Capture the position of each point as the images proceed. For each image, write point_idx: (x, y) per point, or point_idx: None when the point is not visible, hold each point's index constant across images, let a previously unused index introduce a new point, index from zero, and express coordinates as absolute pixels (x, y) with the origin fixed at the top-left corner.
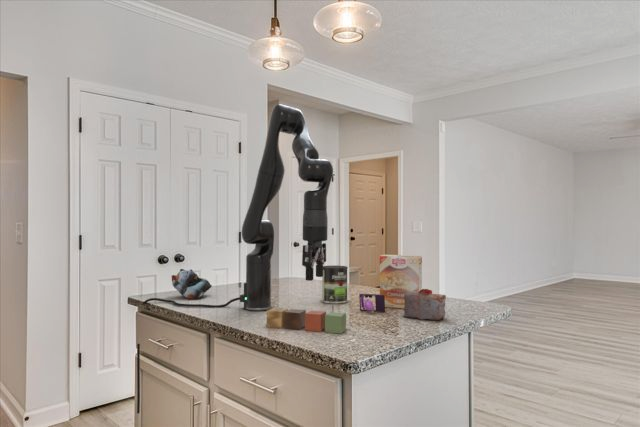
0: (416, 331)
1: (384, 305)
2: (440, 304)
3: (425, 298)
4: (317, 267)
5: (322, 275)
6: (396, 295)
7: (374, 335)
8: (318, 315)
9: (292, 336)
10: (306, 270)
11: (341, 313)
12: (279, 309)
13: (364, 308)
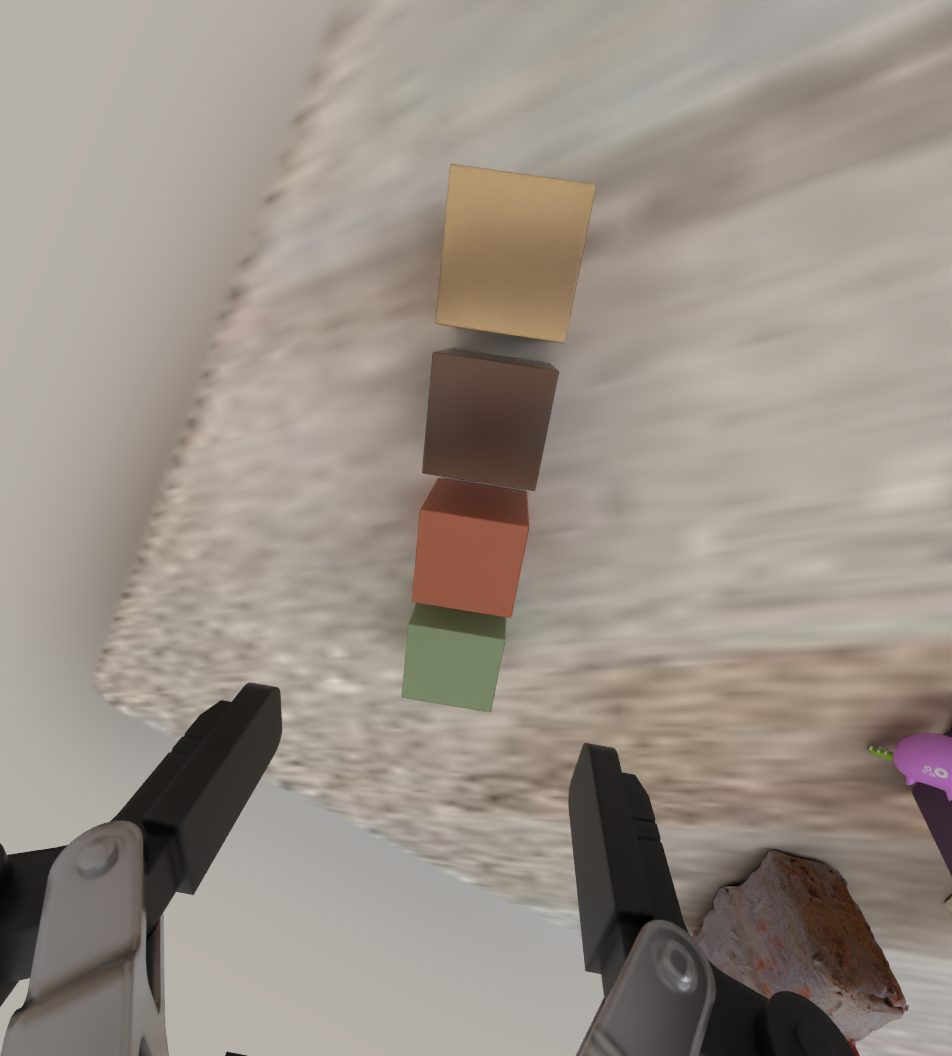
0: (520, 856)
1: (929, 825)
2: None
3: None
4: (598, 876)
5: (571, 811)
6: None
7: (428, 747)
8: (414, 586)
9: (302, 441)
10: (141, 794)
11: (472, 694)
12: (519, 275)
13: None
